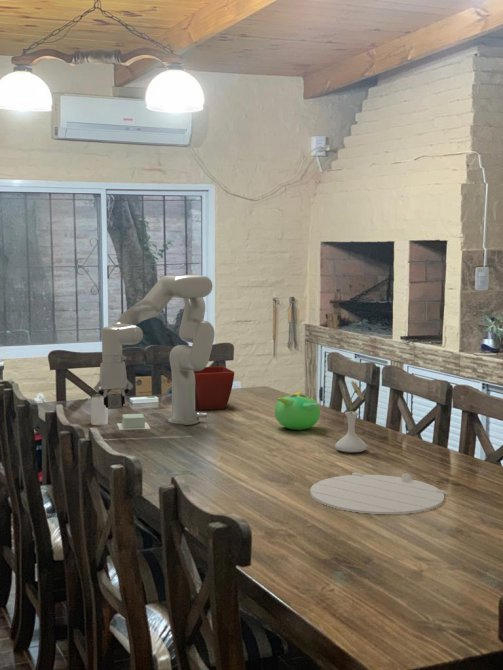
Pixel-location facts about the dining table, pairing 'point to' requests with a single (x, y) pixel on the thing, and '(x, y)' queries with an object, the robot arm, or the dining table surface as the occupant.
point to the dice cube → (114, 401)
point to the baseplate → (132, 428)
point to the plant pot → (213, 387)
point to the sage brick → (133, 420)
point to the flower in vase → (352, 429)
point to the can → (98, 411)
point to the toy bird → (297, 411)
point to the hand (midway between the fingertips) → (114, 406)
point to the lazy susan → (377, 494)
